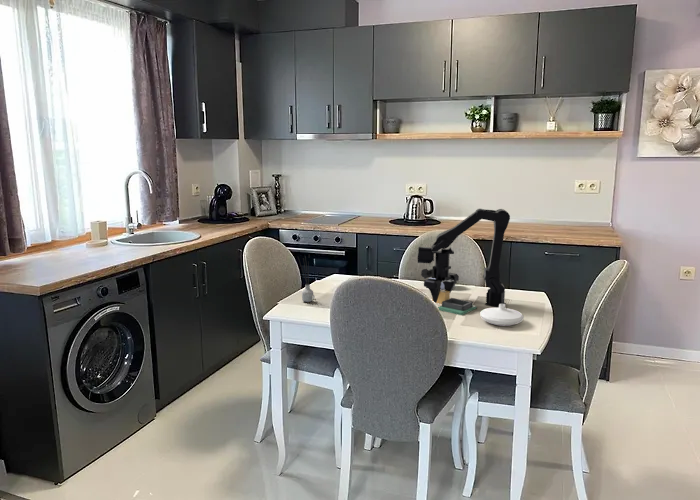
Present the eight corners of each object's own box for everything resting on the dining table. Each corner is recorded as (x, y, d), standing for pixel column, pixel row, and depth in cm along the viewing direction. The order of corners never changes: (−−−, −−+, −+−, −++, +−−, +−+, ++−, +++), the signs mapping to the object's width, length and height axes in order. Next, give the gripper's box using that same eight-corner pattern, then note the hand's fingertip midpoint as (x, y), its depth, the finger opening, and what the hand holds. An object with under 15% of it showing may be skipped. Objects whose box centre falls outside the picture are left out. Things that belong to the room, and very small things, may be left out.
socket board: (476, 308, 224) (476, 301, 224) (461, 315, 215) (462, 307, 215) (452, 303, 231) (452, 296, 231) (437, 309, 222) (437, 302, 222)
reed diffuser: (310, 305, 228) (309, 257, 224) (294, 303, 230) (293, 256, 226) (317, 298, 238) (316, 252, 234) (302, 297, 239) (301, 252, 236)
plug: (449, 302, 232) (449, 291, 231) (444, 305, 229) (444, 292, 228) (437, 300, 236) (437, 288, 235) (432, 302, 233) (432, 290, 232)
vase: (481, 328, 201) (482, 309, 199) (477, 315, 216) (478, 298, 215) (526, 330, 198) (527, 311, 197) (519, 317, 214) (520, 299, 212)
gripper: (437, 257, 242) (436, 292, 245) (413, 264, 228) (412, 301, 231) (459, 261, 235) (458, 296, 238) (436, 268, 221) (435, 306, 224)
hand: (440, 300), depth 233 cm, fingers open, 9 cm apart
